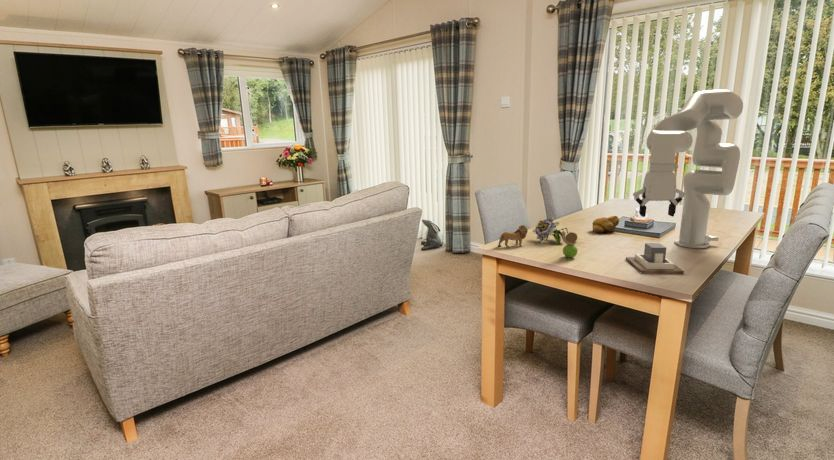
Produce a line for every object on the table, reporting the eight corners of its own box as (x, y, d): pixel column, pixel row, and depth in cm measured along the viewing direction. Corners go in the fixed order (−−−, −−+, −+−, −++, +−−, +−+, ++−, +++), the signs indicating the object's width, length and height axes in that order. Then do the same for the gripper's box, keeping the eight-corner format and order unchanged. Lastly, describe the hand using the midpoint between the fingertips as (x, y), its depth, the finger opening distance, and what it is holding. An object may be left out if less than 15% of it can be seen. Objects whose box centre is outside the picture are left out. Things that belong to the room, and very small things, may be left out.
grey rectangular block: (657, 261, 164) (659, 243, 162) (665, 267, 157) (667, 248, 155) (643, 261, 164) (645, 243, 162) (651, 267, 157) (653, 248, 156)
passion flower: (540, 255, 199) (525, 229, 201) (558, 245, 204) (543, 220, 207) (557, 245, 188) (541, 218, 190) (576, 235, 193) (560, 209, 196)
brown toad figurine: (599, 235, 206) (600, 218, 204) (584, 230, 215) (585, 214, 213) (620, 232, 211) (621, 215, 209) (605, 228, 220) (606, 212, 218)
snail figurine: (557, 256, 176) (559, 227, 174) (573, 255, 177) (575, 226, 174) (563, 260, 171) (565, 230, 168) (579, 259, 172) (581, 229, 169)
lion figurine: (523, 242, 197) (523, 223, 195) (530, 245, 192) (530, 225, 190) (494, 246, 192) (494, 226, 190) (500, 250, 187) (501, 229, 185)
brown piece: (664, 259, 168) (664, 252, 167) (683, 273, 153) (684, 265, 152) (625, 259, 170) (626, 252, 169) (641, 273, 154) (642, 265, 154)
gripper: (682, 166, 157) (677, 213, 161) (631, 167, 159) (627, 214, 163) (693, 168, 149) (687, 217, 154) (639, 170, 151) (635, 218, 156)
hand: (656, 215), depth 158 cm, fingers open, 9 cm apart
